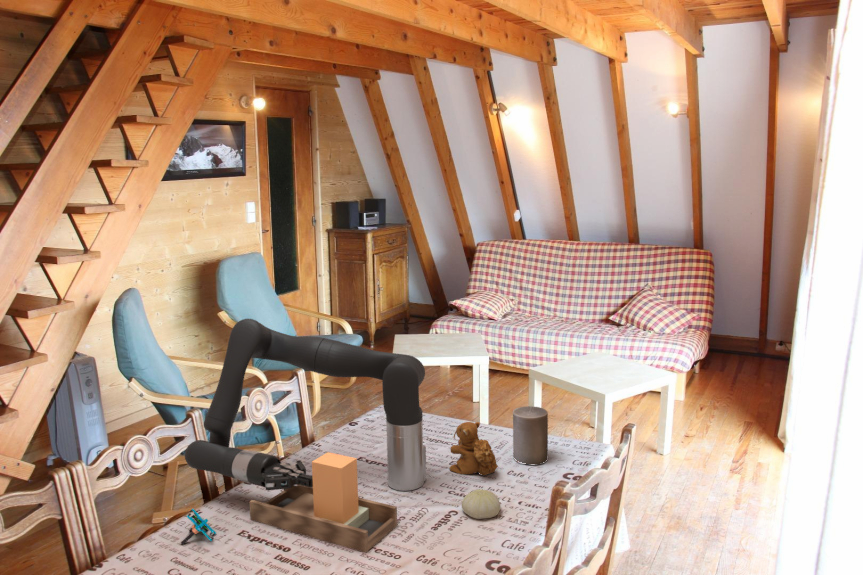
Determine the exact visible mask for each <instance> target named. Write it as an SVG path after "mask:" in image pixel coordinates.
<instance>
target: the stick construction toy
mask: <svg viewBox="0 0 863 575" xmlns="http://www.w3.org/2000/svg"><path fill="white" fill-rule="evenodd" d="M192 512H193V514H192ZM186 518H188V519H189V520H190V522H192V523H193V524H192V526H191V527H190V529H188V531H189V534H188V535H186V537H185V538H184V539H183V540H182V541H180V544H181V545H182V546H184V545H185V544H186V543H187V542H188V541H189V540H190V539H191V538H193V537H194V536H195V535H197V534H199V533H200V532H202V534H203V535H204V536H205V537H206V538H207V539H208V540H209V541H210V542H212V541H213V540H214V539H215V538H214V536H216V535H217V531H215V530H214V529H213V528H212V527H211V525H209V524H208V522H209V519H208V518H203V517H202V516H201V515H200V514H199V513H198V512H197V511H196V510H195V509H194V508H191V509H190V510H189V513H188V514H187V515H186ZM208 531H210V533H209V535H208ZM211 535H212V537H210V536H211ZM183 544H184V545H183Z"/></svg>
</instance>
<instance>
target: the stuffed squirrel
mask: <svg viewBox="0 0 863 575" xmlns="http://www.w3.org/2000/svg"><path fill="white" fill-rule="evenodd" d="M480 425H481V422H479V421H476V422H472V421H466V422H462V423H460V424H459V425H458V426H457V427H456V430H455V432H454V434H453V436H452V438H453V439H454V440H455V439H456V436H457V438H458V442H457V444H454V445H452V446H450V448H449V449H450V453H451V454H453V455H459V458H458V460H456V463H454V464H451V465H450V466H449V471H450V472H452V473H455V472H456V473H455V474H458V473H460V474H459V475H462V474H467V475H474V474H478V473H477V472H479V473H480V474H482V475H481V476H484V475H486V476H488V475H491V474H493V473H494V472H496V471H497V468H498V467H499V465H498V464H497V460H496V455H495V454H494V452H493V450H492V446H491V445H490V444H489V441H488V440H487V439H482V438H481V439H479V433H478V432H479V431H478V430H479V428H480ZM473 473H474V474H473ZM490 473H491V474H490ZM487 474H488V475H487Z"/></svg>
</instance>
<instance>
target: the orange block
mask: <svg viewBox="0 0 863 575" xmlns="http://www.w3.org/2000/svg"><path fill="white" fill-rule="evenodd" d="M311 471H312V472H311V474H312V475H311V476H312V478H313V500H314V516H316V517H319V518H323V519H327V520H330V521H334V522H338V523H342V524H344V523H345V522H347V521H348V520H349V519H351V518H352V517H353V516H354V515H356V514H357V513H358V512H359V509H358V497H359V487H358V486H359V484H358V481H359V480H358V458H356V457H352V456H348V455H343V454H338V453H333V452H330V451H329V452H328V451H327V452H326V453H324V454H322V455H321V456H319V457H318V458H315V459H314V460H312V461H311Z"/></svg>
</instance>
